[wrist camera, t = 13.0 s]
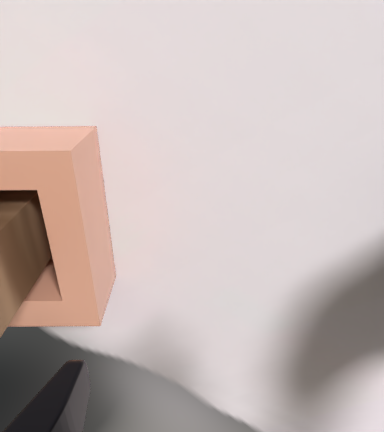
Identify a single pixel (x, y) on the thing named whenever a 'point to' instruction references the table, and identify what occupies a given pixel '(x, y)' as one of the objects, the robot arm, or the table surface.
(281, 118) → the table surface
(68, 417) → the robot arm
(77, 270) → the box
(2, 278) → the walnut stick
